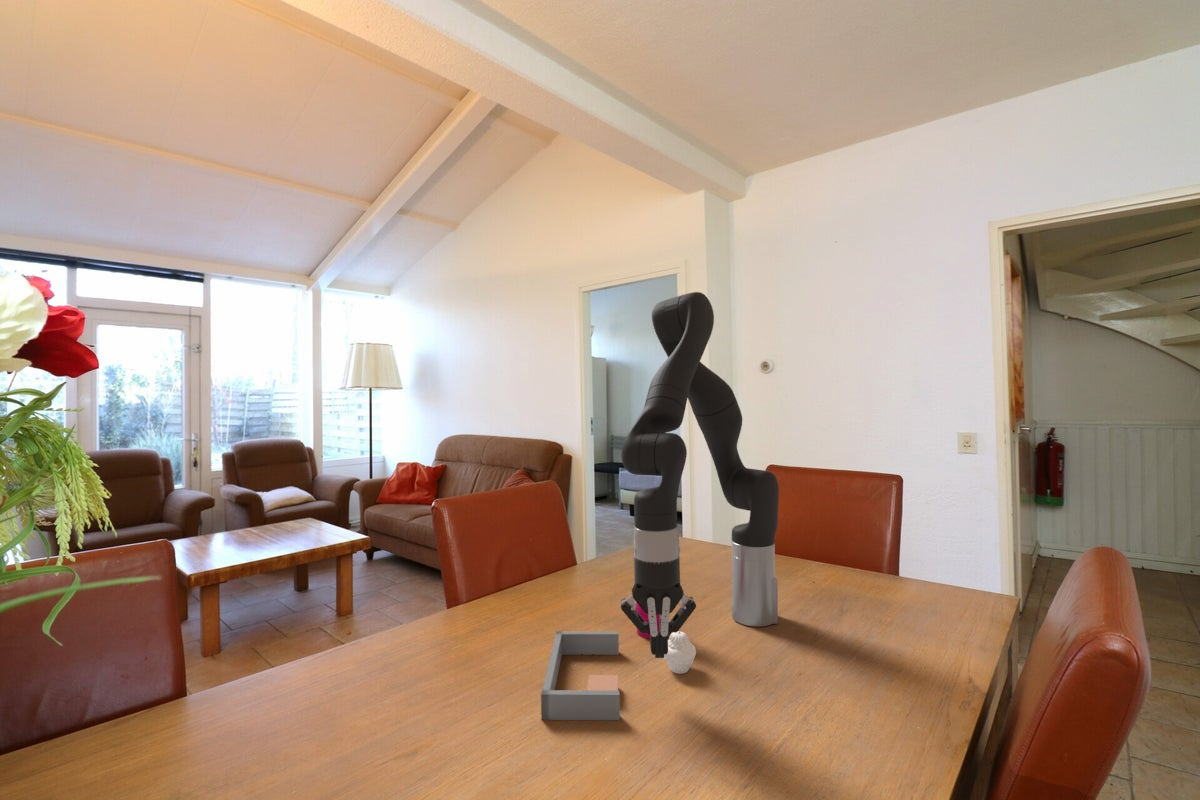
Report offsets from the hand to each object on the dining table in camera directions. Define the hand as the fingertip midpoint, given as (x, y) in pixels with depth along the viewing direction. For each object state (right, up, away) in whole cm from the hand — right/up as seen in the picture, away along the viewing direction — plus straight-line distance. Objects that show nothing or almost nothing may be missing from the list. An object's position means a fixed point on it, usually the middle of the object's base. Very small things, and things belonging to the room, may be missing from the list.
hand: (659, 655), depth 93 cm
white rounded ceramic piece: (+5, -7, +9) cm, 12 cm away
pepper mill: (+1, -7, +25) cm, 26 cm away
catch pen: (-12, -7, +5) cm, 15 cm away
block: (-9, -7, +1) cm, 12 cm away
